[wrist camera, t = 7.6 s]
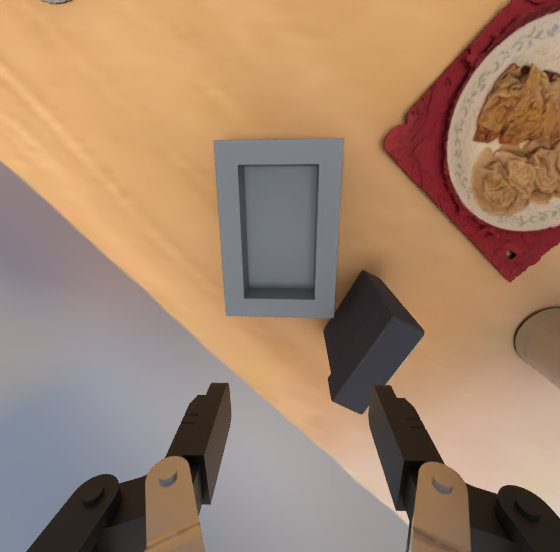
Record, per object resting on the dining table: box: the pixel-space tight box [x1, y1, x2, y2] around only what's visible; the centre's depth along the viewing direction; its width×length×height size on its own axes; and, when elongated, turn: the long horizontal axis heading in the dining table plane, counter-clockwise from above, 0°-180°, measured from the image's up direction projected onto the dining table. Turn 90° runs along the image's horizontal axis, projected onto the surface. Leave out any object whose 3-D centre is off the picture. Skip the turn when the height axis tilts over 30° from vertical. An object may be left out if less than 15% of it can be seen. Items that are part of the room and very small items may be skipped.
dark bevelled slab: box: [324, 271, 424, 414], centre depth 35 cm, size 11×4×15 cm, turn 153°
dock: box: [214, 138, 344, 318], centre depth 37 cm, size 14×21×5 cm, turn 0°
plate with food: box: [385, 0, 560, 283], centre depth 32 cm, size 24×26×4 cm
